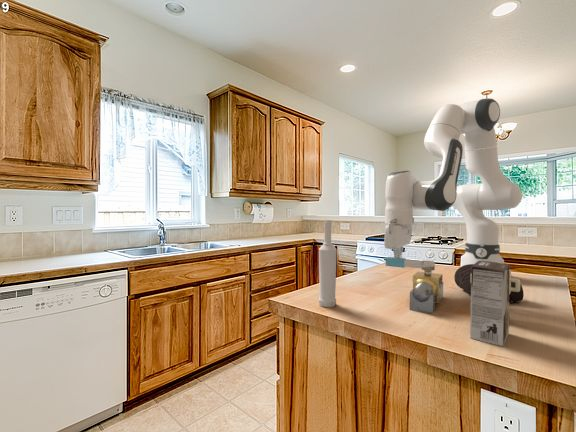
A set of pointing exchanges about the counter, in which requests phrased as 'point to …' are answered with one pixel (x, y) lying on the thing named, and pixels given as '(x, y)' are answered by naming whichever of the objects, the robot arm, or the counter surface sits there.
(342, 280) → the counter surface
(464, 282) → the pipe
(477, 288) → the coffee box
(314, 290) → the counter surface
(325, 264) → the bottle
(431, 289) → the valve pipe
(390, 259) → the lever
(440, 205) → the robot arm
